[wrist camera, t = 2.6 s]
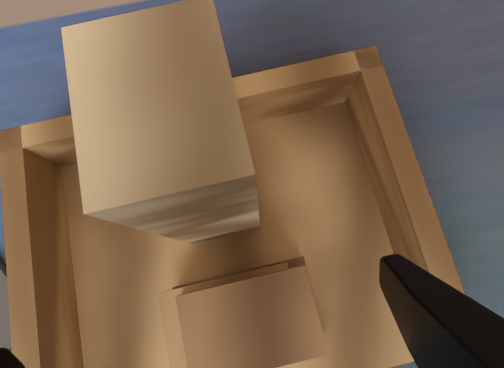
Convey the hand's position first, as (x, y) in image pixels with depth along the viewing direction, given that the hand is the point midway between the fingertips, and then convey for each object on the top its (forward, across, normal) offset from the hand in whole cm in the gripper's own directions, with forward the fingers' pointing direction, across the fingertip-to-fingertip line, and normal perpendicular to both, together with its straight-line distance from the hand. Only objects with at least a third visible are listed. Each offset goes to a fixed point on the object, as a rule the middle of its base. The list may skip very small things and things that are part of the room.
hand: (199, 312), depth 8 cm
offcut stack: (+7, 0, +9) cm, 11 cm away
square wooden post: (+11, 0, +4) cm, 12 cm away
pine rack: (+10, 0, +7) cm, 12 cm away
